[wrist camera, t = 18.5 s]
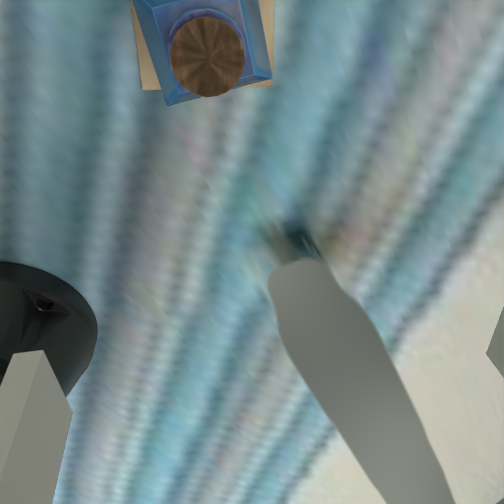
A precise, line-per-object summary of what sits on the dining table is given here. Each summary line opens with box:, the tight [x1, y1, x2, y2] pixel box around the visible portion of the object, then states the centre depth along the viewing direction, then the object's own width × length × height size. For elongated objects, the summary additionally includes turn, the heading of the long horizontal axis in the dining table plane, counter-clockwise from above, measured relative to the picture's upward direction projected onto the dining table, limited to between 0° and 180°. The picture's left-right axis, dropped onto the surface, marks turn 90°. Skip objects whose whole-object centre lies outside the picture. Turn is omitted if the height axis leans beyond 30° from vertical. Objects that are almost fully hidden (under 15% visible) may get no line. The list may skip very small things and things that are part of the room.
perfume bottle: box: [132, 0, 273, 106], centre depth 24 cm, size 6×6×12 cm
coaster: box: [130, 0, 274, 90], centre depth 29 cm, size 9×9×1 cm
